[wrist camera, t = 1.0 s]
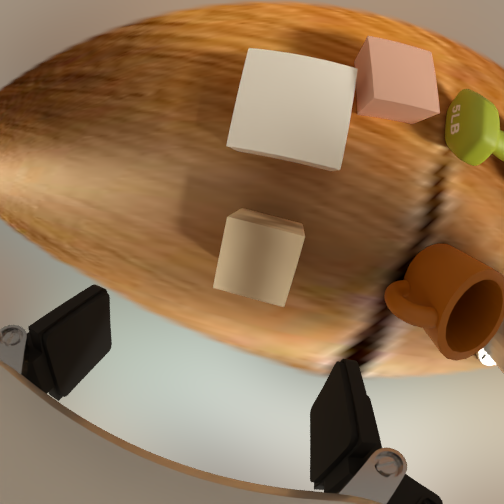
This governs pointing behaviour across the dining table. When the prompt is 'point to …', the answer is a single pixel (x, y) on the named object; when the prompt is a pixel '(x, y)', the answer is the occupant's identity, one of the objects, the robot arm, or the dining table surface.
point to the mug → (450, 300)
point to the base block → (293, 108)
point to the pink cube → (395, 81)
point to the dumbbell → (473, 128)
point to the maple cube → (259, 256)
